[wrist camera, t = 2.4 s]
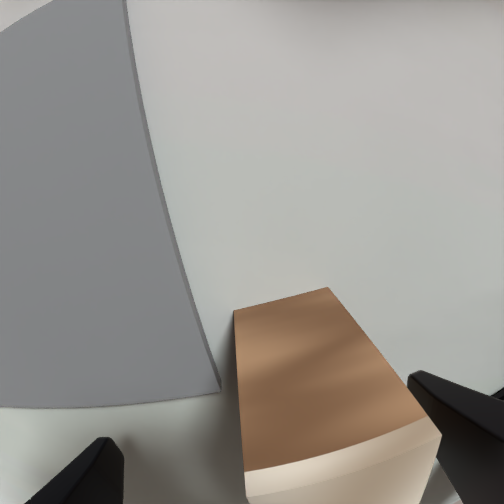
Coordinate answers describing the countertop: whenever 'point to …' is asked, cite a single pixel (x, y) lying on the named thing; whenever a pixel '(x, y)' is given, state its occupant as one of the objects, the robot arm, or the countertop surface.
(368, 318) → the countertop surface
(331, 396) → the block
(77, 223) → the mat
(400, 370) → the countertop surface
